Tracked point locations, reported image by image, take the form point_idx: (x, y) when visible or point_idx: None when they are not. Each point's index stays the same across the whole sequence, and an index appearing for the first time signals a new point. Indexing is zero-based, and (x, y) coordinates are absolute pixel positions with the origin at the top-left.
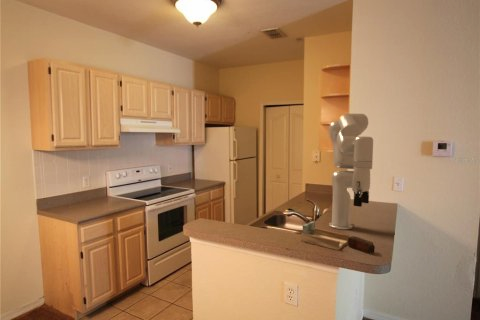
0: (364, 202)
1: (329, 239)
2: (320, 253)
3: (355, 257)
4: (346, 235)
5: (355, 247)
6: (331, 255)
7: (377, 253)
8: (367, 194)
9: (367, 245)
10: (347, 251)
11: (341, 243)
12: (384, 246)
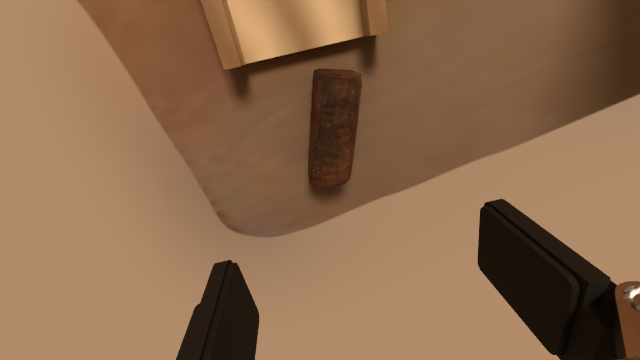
0: (480, 240)
1: (212, 5)
2: (114, 38)
3: (229, 159)
4: (369, 26)
5: (311, 111)
6: (149, 88)
7: None
8: (567, 353)
9: (309, 175)
10: (258, 102)
11: (296, 40)
12: (442, 160)
